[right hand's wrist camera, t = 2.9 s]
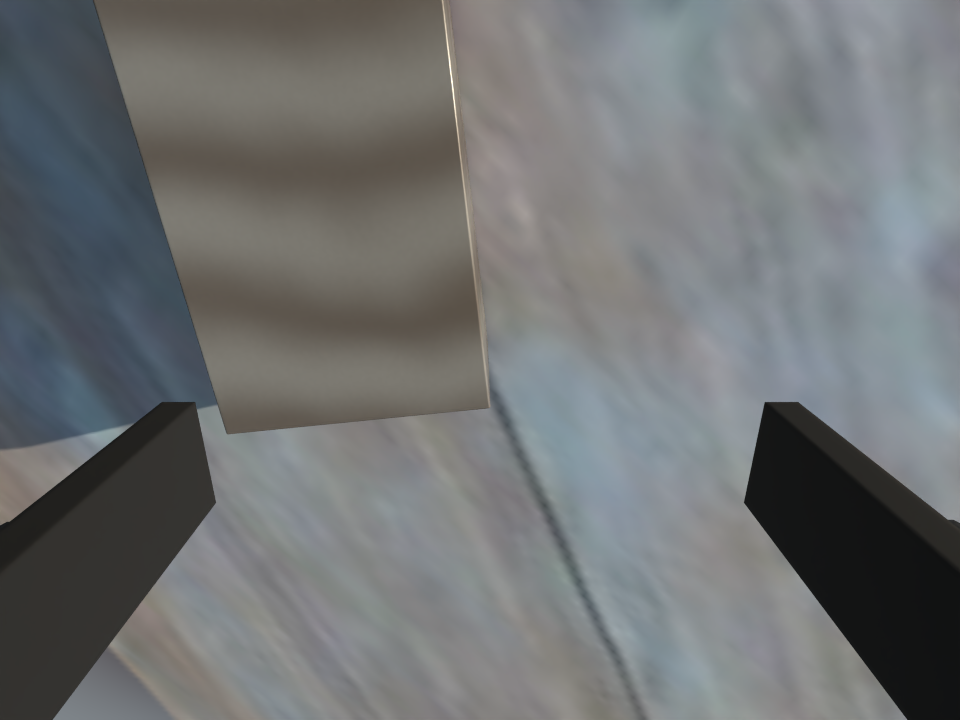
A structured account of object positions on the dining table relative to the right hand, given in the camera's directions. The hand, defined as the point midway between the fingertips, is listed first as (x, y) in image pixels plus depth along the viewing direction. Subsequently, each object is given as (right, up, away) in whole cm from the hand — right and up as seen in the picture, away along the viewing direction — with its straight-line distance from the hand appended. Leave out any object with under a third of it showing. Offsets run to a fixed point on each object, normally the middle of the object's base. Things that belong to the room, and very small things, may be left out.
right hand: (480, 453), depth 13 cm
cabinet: (-6, +12, +14) cm, 20 cm away
